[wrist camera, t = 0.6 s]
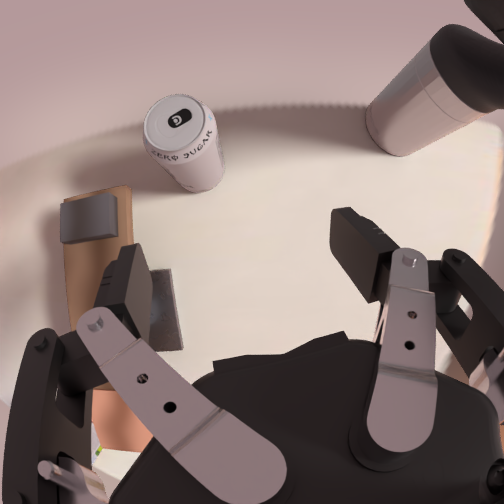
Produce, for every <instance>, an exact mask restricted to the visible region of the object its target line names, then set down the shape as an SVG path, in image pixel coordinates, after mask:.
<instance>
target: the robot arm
mask: <svg viewBox="0 0 504 504" xmlns="http://www.w3.org/2000/svg"><path fill="white" fill-rule="evenodd" d="M464 2H465V4H466V5H467V6H468V8H470V10H471V11H472V12H473V13H474V14H475V15H476V16H477V17H478V18H479V19H480V20H481V21H482V22H483V23H484V24H485V25H486V26H487V27H488V28H489V29H490V30H491V31H492V32H493V33H494V34H495V35H496V36H497V37H498V39H499V40H500V41H501V42H502V43H503V44H504V0H464ZM503 44H499V43H497V42H494V41H492V40H490V39H488V38H486V37H484V36H482V35H480V34H478V33H476V32H475V31H473V30H471V29H469V28H467V27H464V26H461V25H456V24H449V25H446V26H444V27H442V28H441V29H440V30H439V31H438V32H437V33H436V34H435V35H434V36H433V37H432V39H431V40H430V41H429V42H428V43H427V44H426V45H425V46H424V47H423V48H422V49H421V50H420V51H419V52H418V53H417V54H416V56H415V57H414V58H413V59H412V60H411V61H410V62H409V63H408V64H407V65H406V66H405V67H404V68H403V69H402V70H401V72H400V73H399V74H398V75H397V76H396V77H395V78H394V79H393V80H392V81H391V82H390V84H388V85H387V86H386V88H385V89H384V90H383V91H382V92H381V93H380V94H379V95H378V96H377V97H376V98H375V99H374V100H373V101H372V103H371V104H370V105H369V106H368V108H367V111H366V125H367V128H368V131H369V133H370V135H371V137H372V138H373V140H374V141H375V142H376V143H377V144H378V145H379V146H380V147H381V148H382V149H383V150H385V151H386V152H388V153H390V154H392V155H396V156H407V155H410V154H412V153H414V152H416V151H418V150H420V149H421V148H423V147H426V146H427V145H429V144H431V143H433V142H435V141H437V140H439V139H441V138H443V137H445V136H446V135H448V134H450V133H452V132H454V131H456V130H458V129H460V128H462V127H464V126H466V125H468V124H470V123H471V122H473V121H475V120H477V119H479V118H481V117H482V116H484V115H487V114H489V113H490V112H493V111H495V110H497V109H504V45H503ZM330 249H331V252H332V254H333V255H334V257H335V258H336V260H337V261H338V262H339V264H340V265H341V266H342V268H343V269H344V270H345V272H346V273H347V274H348V276H349V277H350V279H351V280H352V281H353V283H354V284H355V286H356V287H357V288H358V290H359V291H360V293H361V294H362V295H363V297H364V298H365V300H366V301H367V303H368V304H369V303H372V302H375V301H380V303H381V304H380V307H379V312H378V317H377V322H376V327H375V332H374V337H373V342H371V341H366V340H358V339H348V337H347V336H346V334H345V332H344V331H341V332H337V333H334V334H330V335H327V336H323V337H319V338H316V339H313V340H311V341H309V342H307V343H305V344H303V345H301V346H299V347H297V348H295V349H293V350H291V351H289V352H287V353H285V354H279V355H243V356H238V357H233V358H228V359H222V360H217V361H213V368H214V371H213V372H211V373H208V374H206V375H205V376H203V377H201V378H200V379H198V380H197V381H195V382H194V383H193V384H192V385H191V384H189V383H188V382H187V381H186V380H185V379H184V378H183V377H182V376H180V375H179V374H178V373H177V372H176V371H175V370H174V369H173V368H172V367H171V366H169V365H168V364H167V363H166V362H165V361H164V360H163V359H162V358H161V357H160V356H159V355H158V354H157V353H156V352H155V351H154V350H153V349H152V348H151V347H150V346H149V345H148V344H149V327H150V313H151V301H152V290H153V285H152V278H151V274H150V271H149V268H148V266H147V263H146V260H145V257H144V254H143V251H142V248H141V245H140V244H139V243H136V244H131V245H126V246H122V247H121V249H120V252H119V255H118V258H117V260H113V261H111V262H110V264H109V265H108V266H107V267H106V268H105V270H104V273H103V276H102V279H101V283H100V287H99V289H98V292H97V296H96V299H95V302H94V306H93V309H91V310H89V311H87V312H86V313H84V314H83V315H82V316H81V317H80V319H79V320H78V322H77V325H76V330H74V331H72V332H69V333H67V334H65V335H62V336H60V337H58V335H57V334H56V332H55V331H54V330H52V329H50V328H45V329H41V330H39V331H37V332H36V333H35V334H34V335H32V337H31V338H30V339H29V341H28V342H27V345H26V348H25V352H24V355H23V358H22V362H21V366H20V369H19V373H18V377H17V381H16V385H15V390H14V394H13V399H12V404H11V409H10V414H9V420H8V427H7V433H6V441H5V450H4V461H3V478H2V501H3V504H504V453H503V449H502V444H501V437H500V426H499V425H504V291H503V290H502V289H501V288H500V287H499V286H498V285H497V284H496V283H495V282H494V280H492V279H491V277H490V276H489V275H488V274H487V273H486V272H485V271H484V270H483V269H482V268H481V267H480V266H479V265H478V264H477V263H476V262H475V261H474V260H473V259H472V258H471V257H470V256H469V255H468V254H466V253H465V252H463V251H461V250H458V249H447V250H445V251H444V253H443V256H442V259H441V260H427V259H426V257H425V256H424V255H423V254H422V253H420V252H419V251H417V250H414V249H411V248H400V247H399V246H398V245H397V244H396V243H395V242H394V241H393V240H392V239H391V238H390V237H389V236H388V235H387V234H386V233H385V234H384V232H383V231H382V230H381V229H380V228H379V227H378V226H377V225H376V224H375V223H374V222H373V221H371V220H369V219H367V218H365V217H363V216H360V215H359V214H357V213H356V212H355V211H354V210H353V209H352V208H351V207H344V208H337V209H333V210H332V212H331V224H330ZM461 295H463V297H464V298H465V299H466V300H467V301H468V303H469V304H470V305H471V307H472V310H473V317H472V319H471V321H470V319H469V318H468V317H467V316H466V314H465V313H464V312H463V310H462V309H461V308H460V307H459V305H458V302H459V299H460V297H461ZM436 328H437V330H438V331H439V333H440V334H441V336H442V337H443V339H444V340H445V342H446V343H447V345H448V346H449V348H450V349H451V351H452V352H453V354H454V355H455V357H456V358H457V360H458V362H459V363H460V365H461V366H462V368H463V370H464V371H465V373H466V374H467V376H468V378H469V384H470V386H469V385H467V384H465V383H462V382H460V381H458V380H456V379H454V378H451V377H449V376H447V375H445V374H442V373H440V372H438V371H436V370H435V348H436ZM108 382H110V383H111V385H112V386H113V387H114V389H115V390H116V391H117V393H118V394H119V395H120V397H121V398H122V399H123V400H124V402H125V403H126V404H127V405H128V407H129V408H130V409H131V410H132V412H133V413H134V414H135V415H136V416H137V418H138V419H139V420H140V421H141V422H142V423H143V425H144V426H145V427H146V428H147V429H148V430H149V431H150V432H151V434H152V435H153V437H152V438H151V440H150V441H149V443H148V444H147V445H146V447H145V448H144V450H143V451H142V452H141V454H140V455H139V457H138V458H137V459H136V461H135V462H134V464H133V465H132V466H131V468H130V469H129V471H128V472H127V473H126V475H125V476H124V477H123V479H122V480H121V482H120V483H119V484H118V486H117V487H116V489H115V490H114V491H113V493H112V495H111V497H110V499H109V498H108V496H107V495H106V492H105V488H104V485H103V482H102V480H101V478H100V477H99V476H98V475H97V474H96V473H95V472H93V471H92V458H91V426H92V401H93V388H95V387H97V386H100V385H103V384H105V383H108ZM57 388H58V389H57ZM56 391H57V396H56Z"/></svg>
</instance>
